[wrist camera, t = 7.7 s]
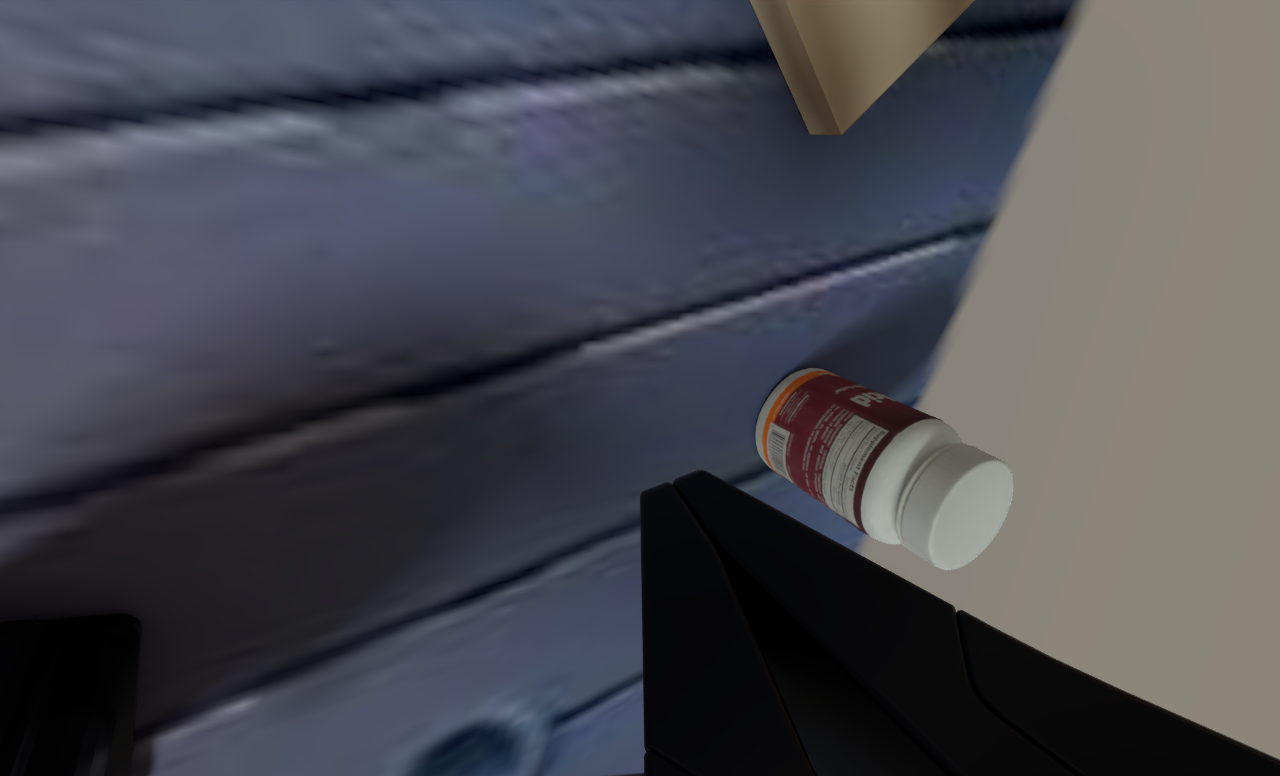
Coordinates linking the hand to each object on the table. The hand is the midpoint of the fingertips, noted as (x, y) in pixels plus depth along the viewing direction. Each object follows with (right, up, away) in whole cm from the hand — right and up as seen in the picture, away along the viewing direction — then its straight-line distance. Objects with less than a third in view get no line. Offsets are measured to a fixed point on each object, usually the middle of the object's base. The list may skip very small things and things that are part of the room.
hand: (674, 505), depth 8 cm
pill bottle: (+6, 0, +19) cm, 20 cm away
